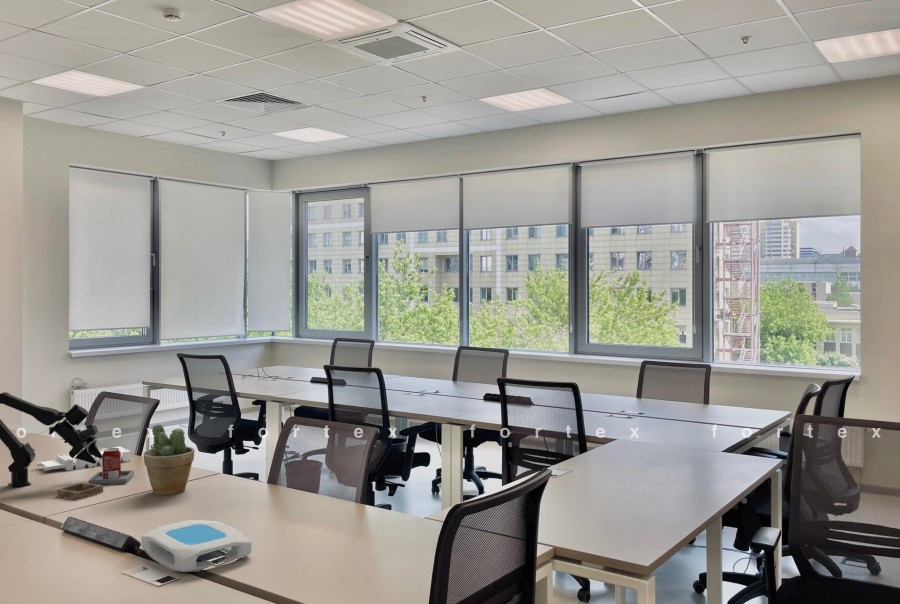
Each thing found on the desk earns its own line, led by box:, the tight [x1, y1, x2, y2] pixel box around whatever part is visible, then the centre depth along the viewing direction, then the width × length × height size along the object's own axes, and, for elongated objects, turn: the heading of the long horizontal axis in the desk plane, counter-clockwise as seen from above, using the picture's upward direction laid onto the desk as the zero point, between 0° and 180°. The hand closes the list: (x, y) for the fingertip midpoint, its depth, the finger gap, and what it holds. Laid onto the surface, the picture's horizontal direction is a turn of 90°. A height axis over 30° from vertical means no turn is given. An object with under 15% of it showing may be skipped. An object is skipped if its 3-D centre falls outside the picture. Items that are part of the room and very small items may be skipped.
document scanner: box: [140, 519, 252, 573], centre depth 214 cm, size 21×28×6 cm
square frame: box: [56, 482, 104, 500], centre depth 275 cm, size 11×11×2 cm
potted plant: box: [143, 424, 196, 496], centre depth 280 cm, size 18×19×25 cm
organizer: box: [36, 446, 132, 471], centre depth 322 cm, size 13×5×35 cm
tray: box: [87, 469, 135, 486], centre depth 296 cm, size 14×14×2 cm
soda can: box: [101, 447, 122, 479], centre depth 296 cm, size 7×7×12 cm
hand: (98, 460), depth 295 cm, fingers open, 9 cm apart
